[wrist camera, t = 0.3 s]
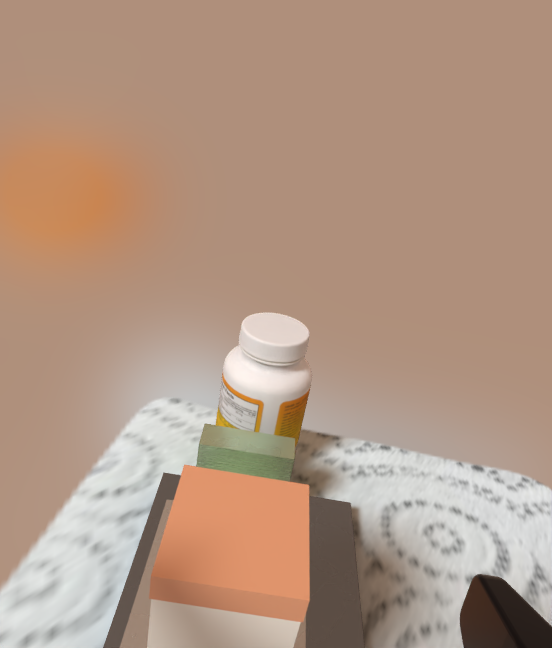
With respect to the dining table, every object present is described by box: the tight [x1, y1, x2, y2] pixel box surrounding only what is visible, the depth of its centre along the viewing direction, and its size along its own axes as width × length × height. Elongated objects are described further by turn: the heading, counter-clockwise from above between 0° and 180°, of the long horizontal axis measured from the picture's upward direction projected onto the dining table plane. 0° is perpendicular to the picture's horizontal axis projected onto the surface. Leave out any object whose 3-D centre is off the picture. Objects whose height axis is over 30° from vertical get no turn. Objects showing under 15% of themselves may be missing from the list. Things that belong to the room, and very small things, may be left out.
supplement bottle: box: [216, 313, 312, 452], centre depth 32 cm, size 5×5×10 cm
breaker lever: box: [147, 465, 310, 648], centre depth 18 cm, size 4×4×10 cm
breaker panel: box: [103, 424, 365, 648], centre depth 21 cm, size 20×11×5 cm, turn 177°
